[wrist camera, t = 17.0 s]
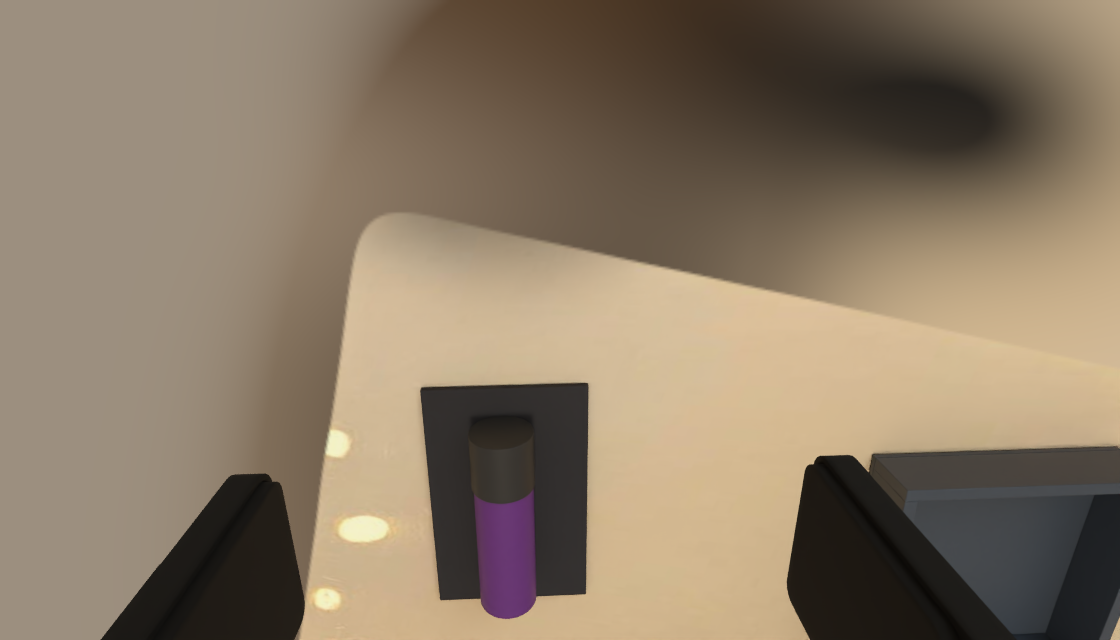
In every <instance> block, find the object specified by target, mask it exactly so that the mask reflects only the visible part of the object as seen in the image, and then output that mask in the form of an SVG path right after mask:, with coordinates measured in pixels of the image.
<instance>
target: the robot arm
mask: <svg viewBox="0 0 1120 640" xmlns="http://www.w3.org/2000/svg"><path fill="white" fill-rule="evenodd" d="M787 589H788V595H789V598H790V601H791V603H792V605H793V607H794V609H795V611H796V613H797V615H798V617H799V619H800V621H801V623H802V625H803V627H804V628H805V630H806V632H807V634H808V636H809V638H810V640H1017V639H1016V638H1015V637H1014V636H1013V635H1012V634H1011V632H1010V631H1009V630H1008V629H1007V628H1006V627H1005V626H1004V625H1003V623H1002V622H1001V621H1000V620H999V619H998V618H997V617H996V616H995V615H994V613H993V612H992V611H991V610H990V609H989V608H988V607H987V606H986V604H985V603H984V602H983V601H982V600H981V599H980V598H979V597H978V595H977V594H976V593H975V592H974V591H973V590H972V589H971V588H970V586H969V585H968V584H967V583H966V582H965V581H964V580H963V579H962V577H961V576H960V575H959V574H958V573H957V572H956V571H955V570H954V568H953V567H952V566H951V565H950V564H949V563H948V562H947V561H946V559H945V558H944V557H943V556H942V555H941V554H940V553H939V552H938V550H937V549H936V548H935V547H934V546H933V545H932V544H931V543H930V541H929V540H928V539H927V538H926V537H925V536H924V535H923V534H922V532H921V531H920V530H919V529H918V528H917V527H916V526H915V525H914V523H913V522H912V521H911V520H910V519H909V518H908V517H907V516H906V514H905V513H904V512H903V511H902V510H901V509H900V508H899V507H898V505H897V504H896V503H895V502H894V501H893V500H892V499H891V498H890V496H889V495H888V494H887V493H886V492H885V491H884V490H883V489H882V487H881V486H880V485H879V484H878V483H877V482H876V481H875V480H874V478H873V477H872V476H871V475H870V474H869V473H868V472H867V471H866V469H865V468H864V467H863V466H862V465H861V464H860V463H859V462H858V460H857V459H856V458H854V457H853V456H850V455H838V456H819V457H817V458H816V460H815V462H814V464H811V465H808V466H807V467H806V470H805V474H804V480H803V486H802V492H801V498H800V504H799V510H798V516H797V522H796V528H795V534H794V541H793V547H792V553H791V559H790V565H789V571H788V577H787ZM304 609H305V601H304V595H303V590H302V585H301V580H300V575H299V570H298V565H297V560H296V555H295V550H294V545H293V540H292V535H291V530H290V525H289V520H288V515H287V510H286V505H285V501H284V495H283V490H282V487H281V485H280V483H279V482H272V480H271V478H270V476H269V475H267V474H240V475H231V476H230V477H229V478H228V479H227V480H226V481H225V482H224V483H223V485H222V486H221V487H220V489H219V490H218V491H217V493H216V494H215V495H214V496H213V498H212V499H211V500H210V502H209V503H208V504H207V505H206V507H205V508H204V509H203V510H202V512H201V513H200V514H199V516H198V517H197V518H196V519H195V521H194V522H193V523H192V525H191V526H190V527H189V529H188V530H187V531H186V532H185V534H184V535H183V536H182V537H181V539H180V540H179V541H178V543H177V544H176V545H175V546H174V548H173V549H172V550H171V552H170V553H169V554H168V555H167V557H166V558H165V559H164V561H163V562H162V563H161V564H160V565H159V566H158V567H157V568H156V570H155V571H154V572H153V574H152V575H151V576H150V577H149V579H148V580H147V581H146V582H145V584H144V585H143V586H142V588H141V589H140V590H139V591H138V593H137V594H136V595H135V597H134V598H133V599H132V600H131V602H130V603H129V604H128V606H127V607H126V608H125V609H124V611H123V612H122V613H121V614H120V616H119V617H118V618H117V620H116V621H115V622H114V623H113V625H112V626H111V627H110V629H109V630H108V631H107V632H106V634H105V635H104V636H103V638H102V639H101V640H294V639H295V637H296V635H297V632H298V630H299V628H300V625H301V623H302V620H303V615H304Z"/></svg>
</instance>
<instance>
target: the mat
mask: <svg viewBox="0 0 1120 640" xmlns="http://www.w3.org/2000/svg"><path fill="white" fill-rule="evenodd" d="M420 392H421V403H422V413H423V424H424V434H425V445H426V455H427V466H428V476H429V487H430V497H431V508H432V518H433V529H434V540H435V550H436V561H437V571H438V582H439V592H440V600H457V599H481V596H480V580H479V565H478V550H477V534H476V519H475V503H474V493H473V491H472V488H471V475H470V460H469V445H468V432H469V430H470V428H471V427H472V426H473V425H474V424H476V423H477V422H479V421H481V420H484V419H486V418H490V417H496V416H512V417H518V418H521V419H524V420H526V421H527V422H529V423H530V424H531V425H532V427H533V429H534V451H535V487H534V514H535V556H536V596H553V595H577V594H586V537H587V455H588V384H587V383H583V384H546V385H508V386H470V387H433V388H421V391H420Z"/></svg>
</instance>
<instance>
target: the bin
mask: <svg viewBox="0 0 1120 640" xmlns="http://www.w3.org/2000/svg"><path fill="white" fill-rule="evenodd" d="M869 474H870V475H871V476H872V477H873V478H874V480H875V481H876V482H877V483H878V484H879V485H880V486H881V487H882V489H883V490H884V491H885V492H886V493H887V494H888V495H889V496H890V498H891V499H892V500H893V501H894V502H895V503H896V504H897V505H898V507H899V508H900V509H901V510H902V511H903V512H904V513H905V514H906V516H907V517H908V518H909V519H910V520H911V521H912V522H913V523H914V525H915V526H916V527H917V528H918V529H919V530H920V531H921V532H922V534H923V535H924V536H925V537H926V538H927V539H928V540H929V541H930V543H931V544H932V545H933V546H934V547H935V548H936V549H937V550H938V552H939V553H940V554H941V555H942V556H943V557H944V558H945V559H946V561H947V562H948V563H949V564H950V565H951V566H952V567H953V568H954V570H955V571H956V572H957V573H958V574H959V575H960V576H961V577H962V579H963V580H964V581H965V582H966V583H967V584H968V585H969V586H970V588H971V589H972V590H973V591H974V592H975V593H976V594H977V595H978V597H979V598H980V599H981V600H982V601H983V602H984V603H985V604H986V606H987V607H988V608H989V609H990V610H991V611H992V612H993V613H994V615H995V616H996V617H997V618H998V619H999V620H1000V621H1001V622H1002V623H1003V625H1004V626H1005V627H1006V628H1007V629H1008V630H1009V631H1010V632H1011V634H1012V635H1013V636H1014V637H1015V638H1016V639H1017V640H1110V639H1111V636H1112V634H1113V631H1114V629H1115V627H1116V624H1117V622H1118V619H1119V617H1120V449H1119V448H1118V447H1094V448H1063V449H1032V450H1001V451H970V452H939V453H908V454H878V455H873V457H872V462H871V467H870V472H869Z"/></svg>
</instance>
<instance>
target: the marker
mask: <svg viewBox="0 0 1120 640" xmlns="http://www.w3.org/2000/svg"><path fill="white" fill-rule="evenodd" d="M468 445H469V460H470V475H471V488H472V491H473V493H474V503H475V519H476V534H477V550H478V565H479V580H480V596H481V604H482V606H483V608H484V609H485V610H486V612H488V613H489V614H490V615H492V616H494V617H497V618H503V619H510V618H516V617H519V616H521V615H523V614H525V613H526V612H528V611H529V610H530V609H531V608H532V606H533V605H534V603H535V601H536V556H535V514H534V487H535V451H534V429H533V427H532V425H531V424H530V423H529V422H527V421H526V420H524V419H521V418H518V417H512V416H496V417H490V418H486V419H484V420H481V421H479V422H477V423H476V424H474V425H473V426H472V427H471V428H470V430H469V432H468Z"/></svg>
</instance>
